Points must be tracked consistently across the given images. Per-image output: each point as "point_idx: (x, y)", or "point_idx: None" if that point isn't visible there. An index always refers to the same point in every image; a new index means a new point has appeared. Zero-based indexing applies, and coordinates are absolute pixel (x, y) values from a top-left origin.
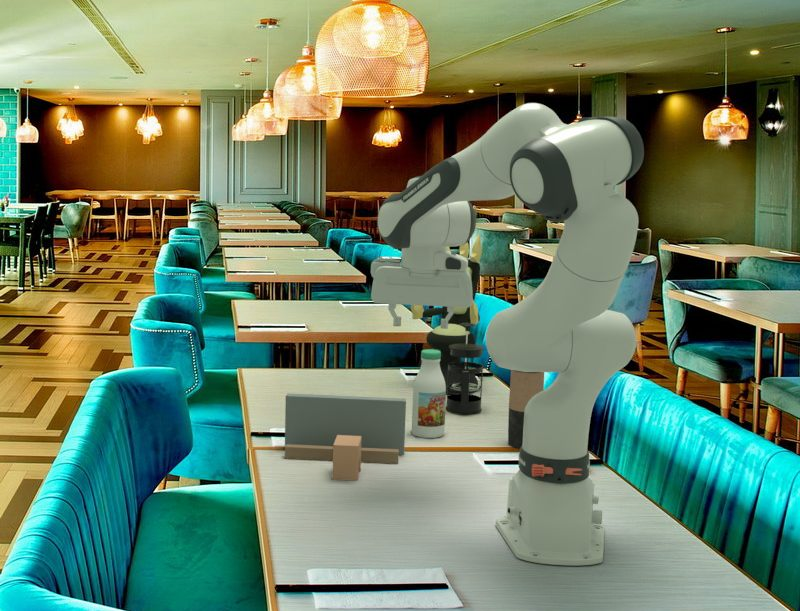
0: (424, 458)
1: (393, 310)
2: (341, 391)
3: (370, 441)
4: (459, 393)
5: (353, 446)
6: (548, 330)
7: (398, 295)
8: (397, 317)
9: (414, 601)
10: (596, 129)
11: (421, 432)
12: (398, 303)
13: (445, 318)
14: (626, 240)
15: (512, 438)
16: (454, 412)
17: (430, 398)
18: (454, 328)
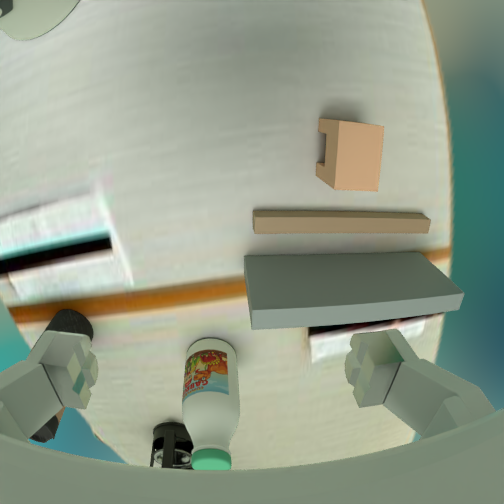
0: (208, 245)
1: (434, 407)
2: (322, 455)
3: (305, 264)
4: (189, 469)
5: (348, 122)
6: None
7: (497, 484)
8: (392, 375)
9: None
10: None
11: (220, 344)
12: (458, 429)
13: (50, 393)
14: None
15: (80, 324)
16: (184, 425)
17: (206, 384)
18: None
